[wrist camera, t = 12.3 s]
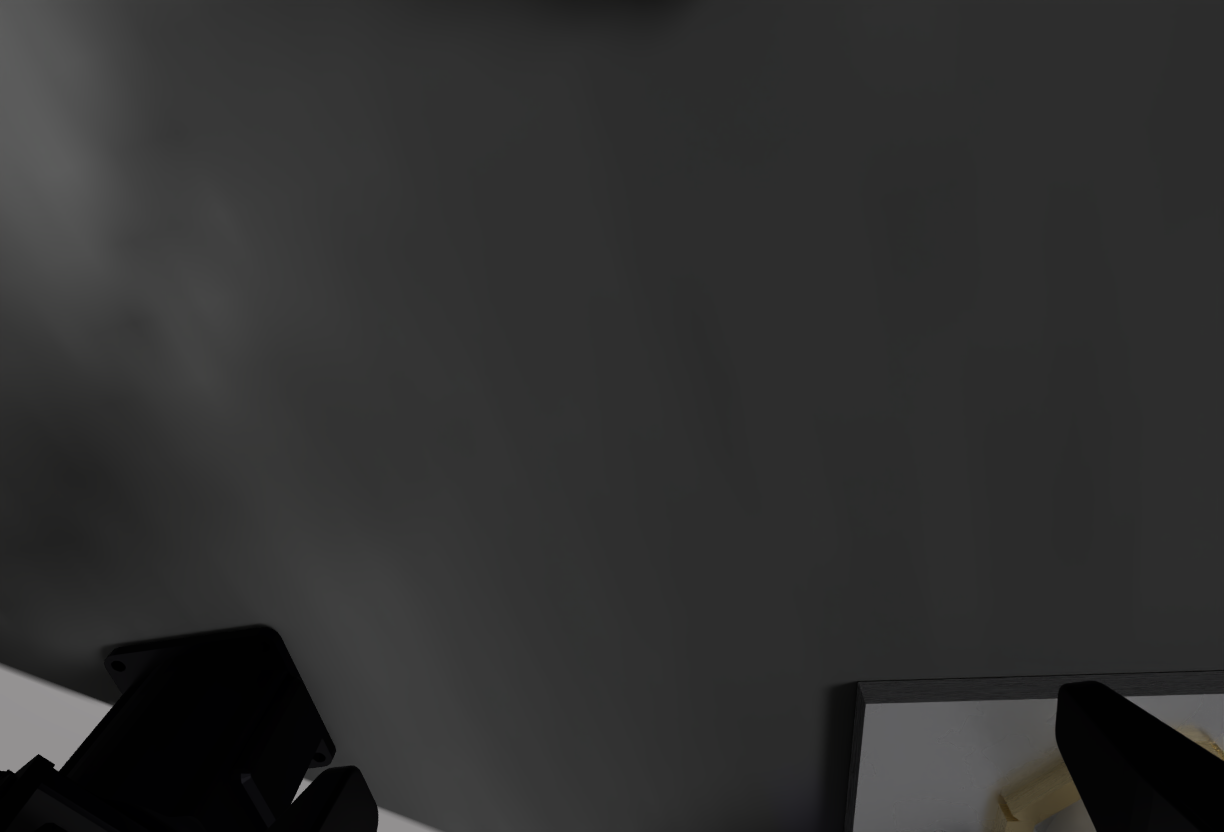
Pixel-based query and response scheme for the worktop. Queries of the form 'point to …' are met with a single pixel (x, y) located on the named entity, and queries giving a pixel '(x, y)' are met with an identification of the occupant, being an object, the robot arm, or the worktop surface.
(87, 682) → the worktop surface
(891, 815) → the shaft mount
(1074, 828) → the domed cap cylinder
